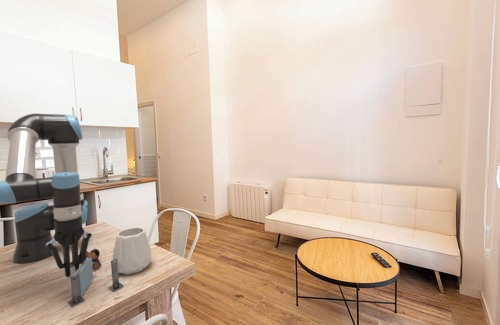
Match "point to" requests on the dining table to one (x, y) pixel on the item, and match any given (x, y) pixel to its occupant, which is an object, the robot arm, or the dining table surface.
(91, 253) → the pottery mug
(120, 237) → the vase
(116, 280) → the post
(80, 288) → the gate
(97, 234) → the dining table surface
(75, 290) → the hinge post
